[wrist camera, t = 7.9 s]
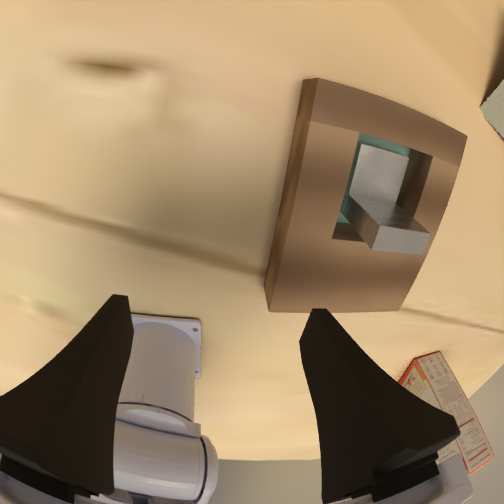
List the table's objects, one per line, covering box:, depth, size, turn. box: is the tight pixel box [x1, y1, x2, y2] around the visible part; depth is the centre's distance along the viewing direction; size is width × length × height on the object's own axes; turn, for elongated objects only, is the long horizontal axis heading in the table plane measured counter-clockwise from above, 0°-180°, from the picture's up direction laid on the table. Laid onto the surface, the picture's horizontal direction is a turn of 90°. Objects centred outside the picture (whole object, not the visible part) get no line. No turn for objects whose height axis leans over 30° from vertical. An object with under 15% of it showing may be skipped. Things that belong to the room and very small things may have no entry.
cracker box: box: [399, 351, 494, 476], centre depth 28 cm, size 14×6×21 cm, turn 179°
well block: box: [264, 78, 467, 313], centre depth 19 cm, size 16×12×3 cm
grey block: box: [340, 141, 431, 255], centre depth 16 cm, size 5×4×6 cm
